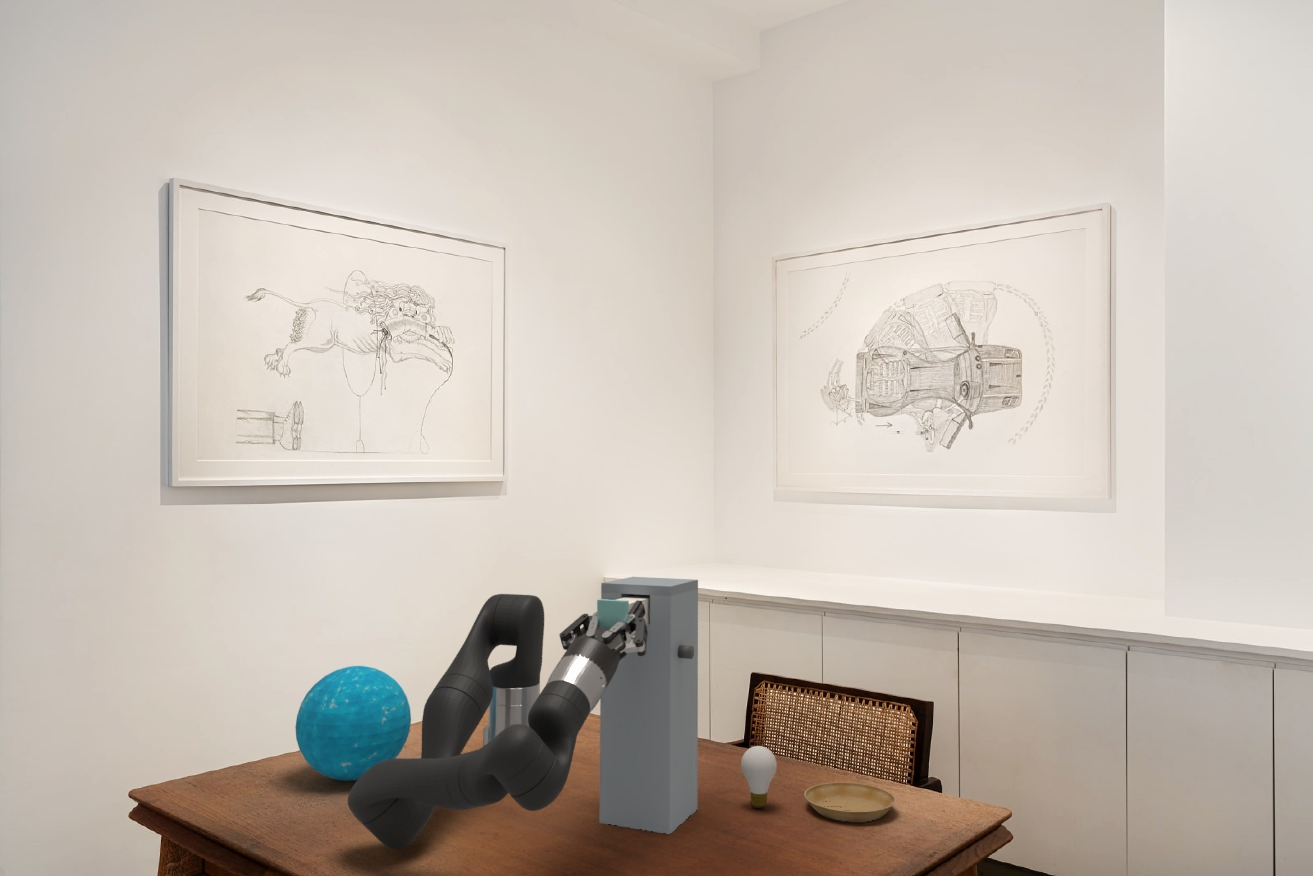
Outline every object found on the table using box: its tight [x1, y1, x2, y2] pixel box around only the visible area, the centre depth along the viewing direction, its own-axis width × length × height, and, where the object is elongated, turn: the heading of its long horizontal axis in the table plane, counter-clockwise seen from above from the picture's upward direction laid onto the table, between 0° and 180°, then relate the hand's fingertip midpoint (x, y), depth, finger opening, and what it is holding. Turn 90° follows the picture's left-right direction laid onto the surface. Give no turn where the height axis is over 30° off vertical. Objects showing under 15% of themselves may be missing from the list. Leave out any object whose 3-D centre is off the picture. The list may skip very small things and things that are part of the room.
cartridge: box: [596, 594, 650, 628], centre depth 146 cm, size 5×19×5 cm, turn 157°
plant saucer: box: [803, 781, 897, 823], centre depth 152 cm, size 15×15×3 cm
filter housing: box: [598, 576, 699, 835], centre depth 150 cm, size 16×12×38 cm
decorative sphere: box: [294, 665, 412, 782], centre depth 168 cm, size 20×20×20 cm
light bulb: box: [740, 745, 778, 809], centre depth 153 cm, size 6×6×10 cm
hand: (626, 604), depth 142 cm, fingers closed on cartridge, 4 cm apart
